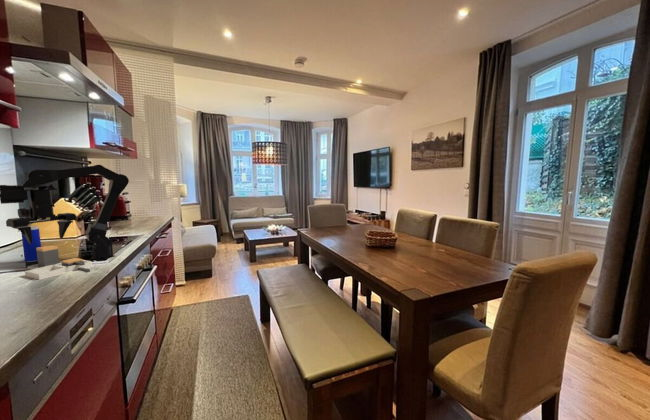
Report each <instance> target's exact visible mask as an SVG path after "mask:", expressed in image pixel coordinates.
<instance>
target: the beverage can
mask: <svg viewBox="0 0 650 420" xmlns="http://www.w3.org/2000/svg"><path fill="white" fill-rule="evenodd" d="M29 226H30V227H31V232H32V244H30V243H29V242H28V241H27V239H26V238H25V236H24V235H23V234H22V233H21V232H20V233H21V234H20V235H21V241H22V247H23V256H24V257H23V259H24V262H25V263H33V262H38V258H37V250H36V248H38V247H42V242H41V241H42V240H41V234H40V233H41V232H40V227H39V226H38V225H29Z"/></svg>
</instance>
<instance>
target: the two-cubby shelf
mask: <svg viewBox="0 0 650 420" xmlns="http://www.w3.org/2000/svg"><path fill="white" fill-rule="evenodd" d="M82 262H83V263H85V265H82V266H81V265H73V266H69V267H66V266H62V263H58V264H54V265H49V266H45V267H41V268H36V269H28V270H25V271H24V275H25V277H27V278H31V279H36V280H43V279H47V278H51V277H54V276H59V275H62V274H67V273H70V272H74V271H79V270H78V268H80V267H83V268H89V267H90V268H91V267H92V266H93V262H92V261H91V260H85V259H82Z"/></svg>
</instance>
